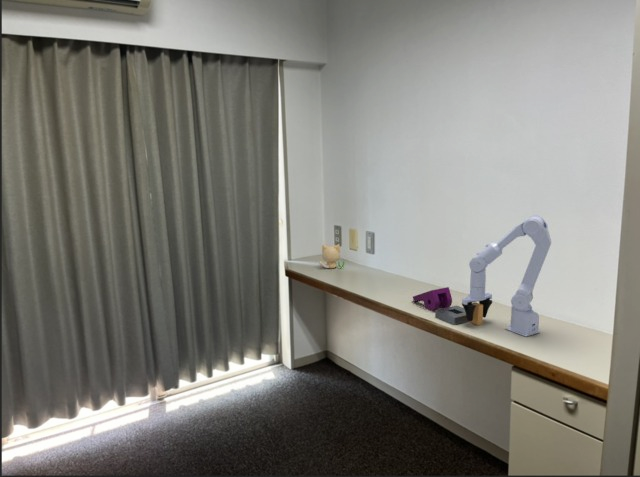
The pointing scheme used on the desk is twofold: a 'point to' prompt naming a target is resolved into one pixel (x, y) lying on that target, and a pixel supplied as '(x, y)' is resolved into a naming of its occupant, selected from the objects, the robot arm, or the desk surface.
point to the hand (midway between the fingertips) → (476, 318)
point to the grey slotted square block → (452, 315)
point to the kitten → (331, 256)
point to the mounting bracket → (435, 298)
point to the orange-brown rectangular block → (477, 314)
